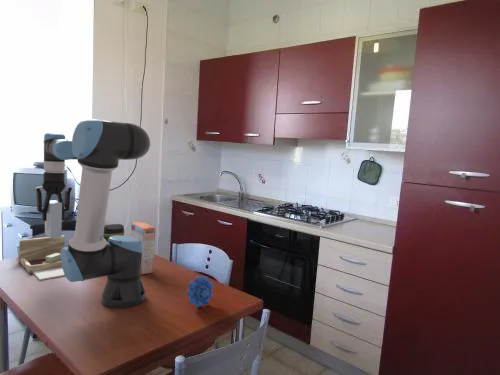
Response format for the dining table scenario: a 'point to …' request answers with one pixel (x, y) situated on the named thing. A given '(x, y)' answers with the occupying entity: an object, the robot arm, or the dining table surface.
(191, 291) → the blue knobbly flower shape
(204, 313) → the dining table surface
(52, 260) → the offcut
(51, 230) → the white rectangular box
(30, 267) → the rack
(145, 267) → the cracker box
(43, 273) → the mat
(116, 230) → the coffee jar
